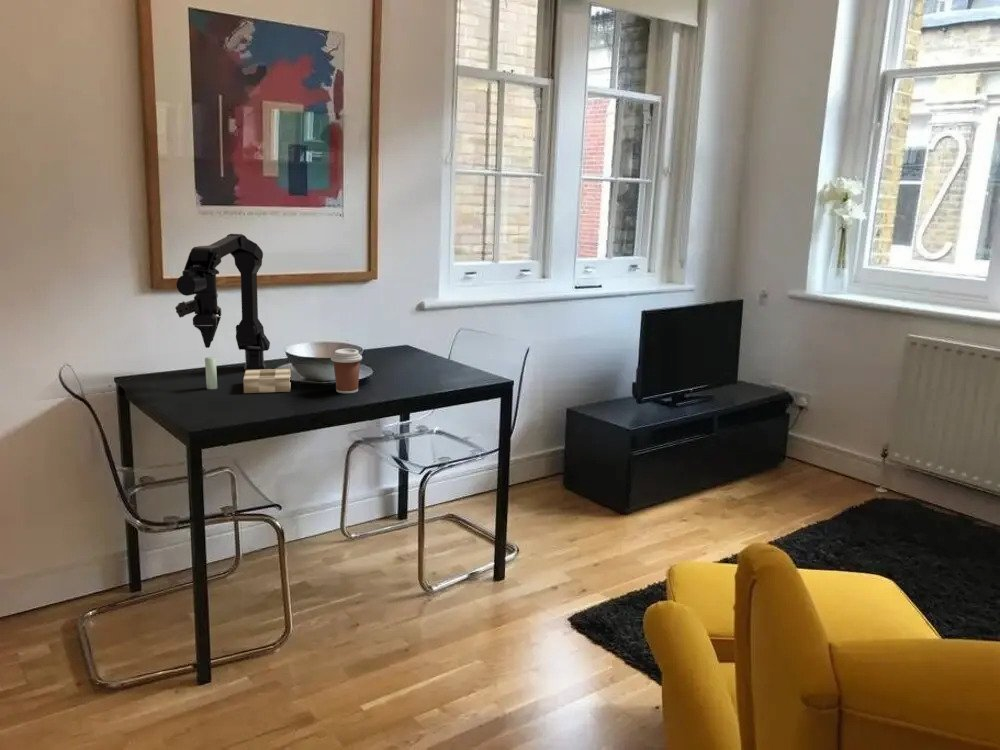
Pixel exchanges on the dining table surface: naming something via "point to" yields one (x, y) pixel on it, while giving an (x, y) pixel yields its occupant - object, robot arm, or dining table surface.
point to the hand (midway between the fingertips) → (209, 344)
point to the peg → (211, 373)
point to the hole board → (267, 380)
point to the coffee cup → (346, 370)
